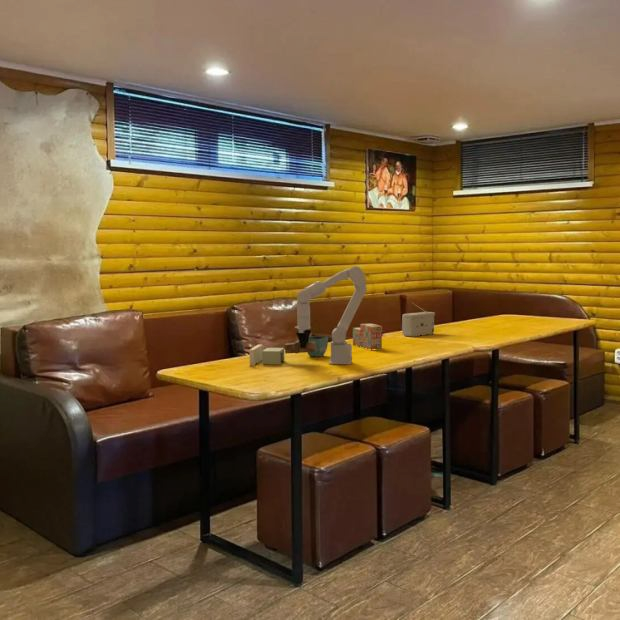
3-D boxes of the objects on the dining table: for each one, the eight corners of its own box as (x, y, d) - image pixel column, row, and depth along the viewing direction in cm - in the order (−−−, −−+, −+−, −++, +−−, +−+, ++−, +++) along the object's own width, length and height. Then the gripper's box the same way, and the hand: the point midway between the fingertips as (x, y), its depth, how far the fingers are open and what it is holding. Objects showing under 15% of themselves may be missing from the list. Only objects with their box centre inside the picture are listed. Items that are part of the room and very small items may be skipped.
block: (284, 360, 306) (284, 348, 306) (279, 364, 296) (279, 351, 296) (267, 360, 307) (267, 347, 307) (262, 364, 298) (262, 351, 297)
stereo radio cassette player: (425, 333, 401) (425, 299, 399) (436, 334, 394) (436, 300, 393) (401, 336, 388) (401, 302, 386) (412, 337, 381) (412, 302, 379)
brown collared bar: (316, 350, 302) (315, 339, 301) (313, 352, 295) (312, 341, 294) (287, 351, 304) (286, 341, 304) (284, 354, 297) (283, 343, 297)
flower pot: (313, 354, 325) (313, 336, 324) (329, 355, 320) (328, 337, 319) (303, 356, 317) (303, 338, 316) (319, 358, 313) (319, 339, 312)
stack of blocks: (352, 345, 355) (352, 322, 354) (362, 344, 357) (362, 321, 356) (371, 350, 335) (371, 326, 334) (382, 349, 337) (382, 325, 336)
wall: (262, 359, 311) (262, 344, 310) (254, 365, 295) (253, 349, 294) (258, 359, 311) (258, 344, 311) (249, 365, 295) (249, 349, 295)
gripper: (297, 315, 305) (298, 344, 307) (291, 318, 291) (292, 349, 292) (313, 315, 304) (313, 344, 305) (307, 318, 290) (308, 349, 291)
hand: (304, 347), depth 299 cm, fingers closed on brown collared bar, 4 cm apart
